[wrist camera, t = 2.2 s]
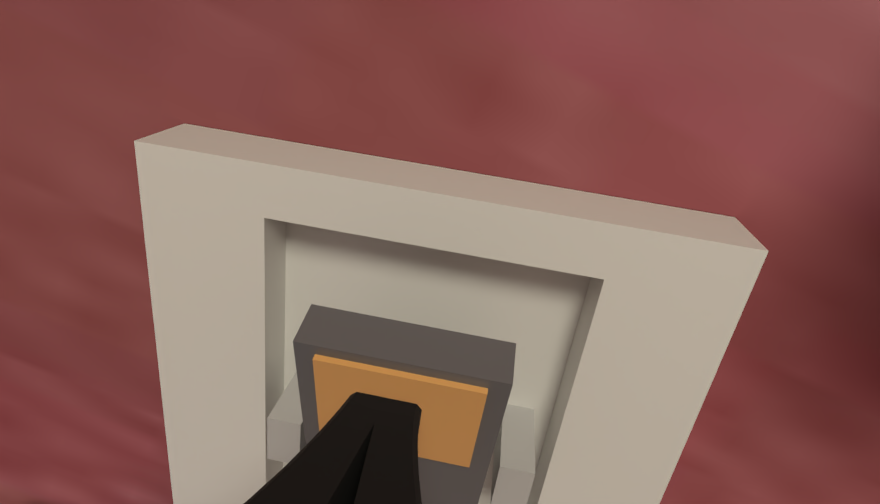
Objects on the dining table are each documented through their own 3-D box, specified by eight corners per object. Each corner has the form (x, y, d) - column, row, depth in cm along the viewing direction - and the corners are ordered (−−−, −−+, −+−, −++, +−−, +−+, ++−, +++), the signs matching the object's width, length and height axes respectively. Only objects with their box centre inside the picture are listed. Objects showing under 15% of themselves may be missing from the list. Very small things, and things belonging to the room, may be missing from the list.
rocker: (461, 539, 20) (456, 580, 19) (329, 510, 20) (316, 548, 19) (516, 343, 13) (512, 390, 12) (311, 303, 13) (290, 346, 12)
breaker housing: (590, 586, 22) (601, 684, 19) (209, 502, 23) (159, 581, 20) (734, 217, 15) (791, 273, 12) (184, 123, 16) (101, 152, 13)
